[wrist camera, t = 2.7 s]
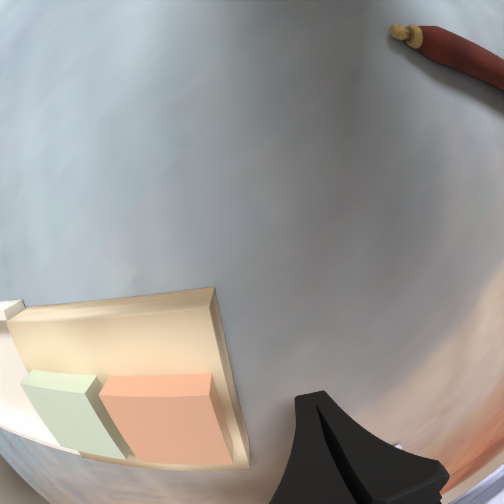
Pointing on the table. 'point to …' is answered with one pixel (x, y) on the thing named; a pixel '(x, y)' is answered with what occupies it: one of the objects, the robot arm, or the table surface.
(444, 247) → the table surface
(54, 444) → the tray
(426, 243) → the table surface
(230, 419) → the maple board
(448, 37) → the gavel
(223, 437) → the terracotta tile
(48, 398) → the sage tile
